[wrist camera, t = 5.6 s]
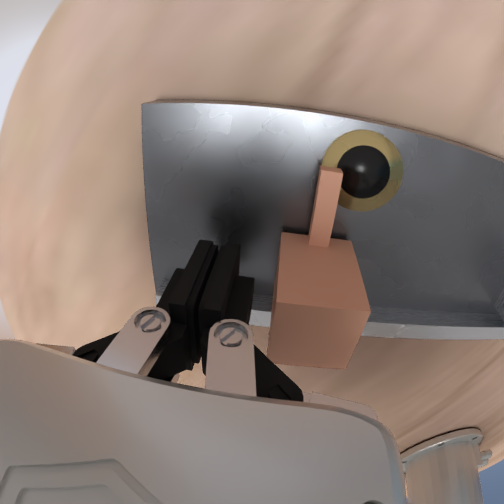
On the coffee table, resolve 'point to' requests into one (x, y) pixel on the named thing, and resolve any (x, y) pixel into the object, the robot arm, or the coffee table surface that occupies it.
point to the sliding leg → (317, 290)
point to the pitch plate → (347, 213)
